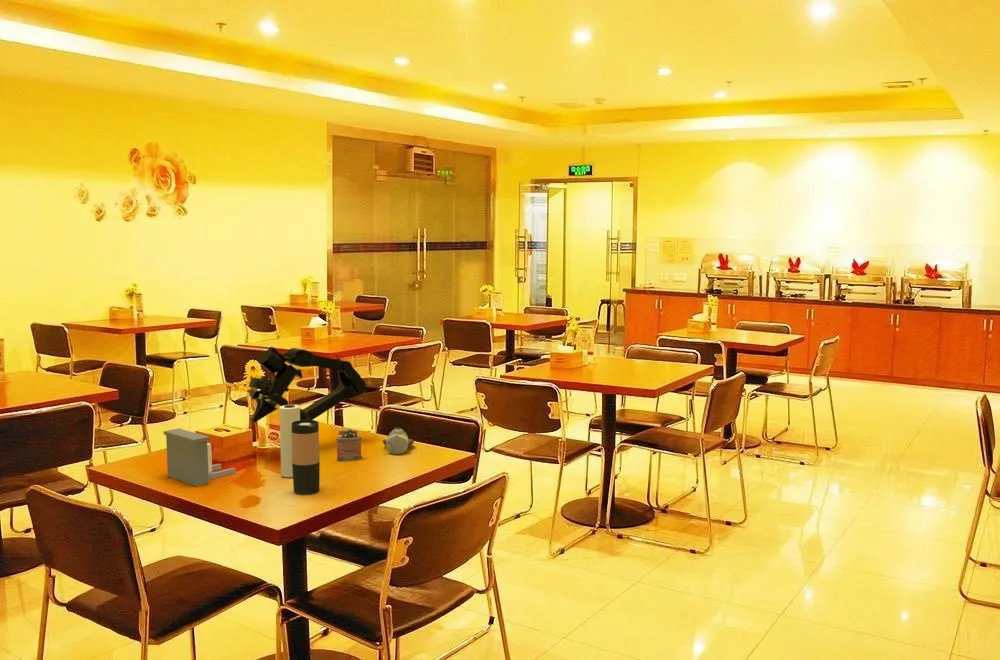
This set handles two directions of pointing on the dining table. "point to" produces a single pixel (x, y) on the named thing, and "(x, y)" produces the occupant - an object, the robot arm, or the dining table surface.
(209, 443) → the cream rectangular block
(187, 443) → the grey boxy piece
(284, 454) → the paper towel roll
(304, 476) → the travel mug
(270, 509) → the dining table surface
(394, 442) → the ceramic sculpture
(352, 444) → the lighter
